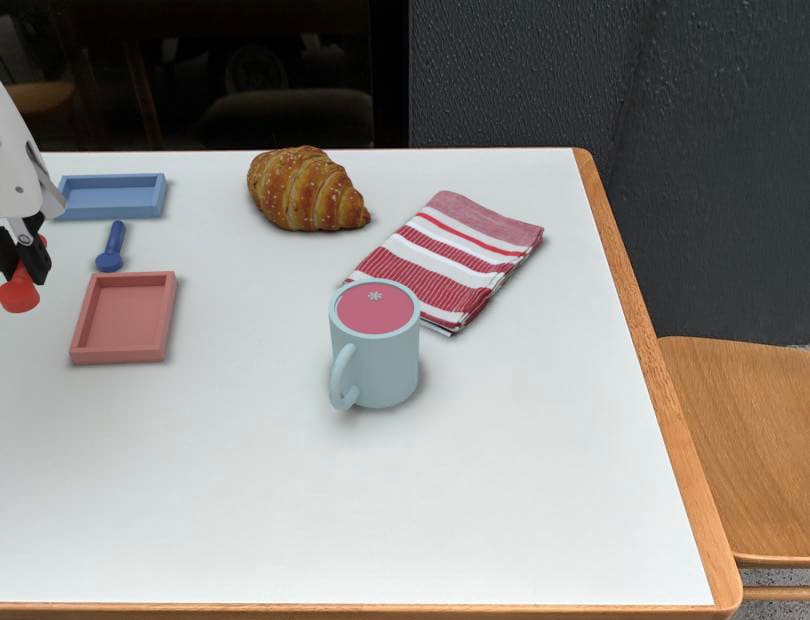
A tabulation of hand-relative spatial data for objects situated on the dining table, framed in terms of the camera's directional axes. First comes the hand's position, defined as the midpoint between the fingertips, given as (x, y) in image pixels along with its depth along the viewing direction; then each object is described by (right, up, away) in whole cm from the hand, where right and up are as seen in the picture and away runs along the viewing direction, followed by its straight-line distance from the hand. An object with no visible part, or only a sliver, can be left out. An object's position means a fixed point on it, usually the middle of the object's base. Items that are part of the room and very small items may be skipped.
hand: (30, 275), depth 61 cm
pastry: (+20, +22, +32) cm, 43 cm away
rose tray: (+1, +2, +18) cm, 19 cm away
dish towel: (+40, +11, +25) cm, 48 cm away
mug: (+30, -8, +13) cm, 34 cm away
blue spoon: (-3, +13, +26) cm, 29 cm away
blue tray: (-6, +22, +31) cm, 39 cm away
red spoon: (0, -1, 0) cm, 1 cm away
